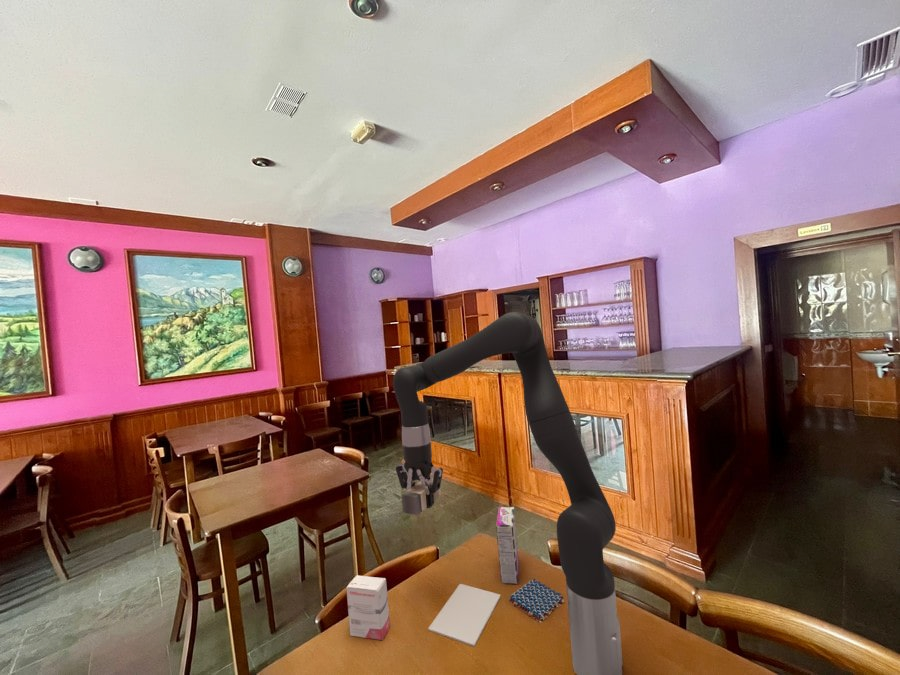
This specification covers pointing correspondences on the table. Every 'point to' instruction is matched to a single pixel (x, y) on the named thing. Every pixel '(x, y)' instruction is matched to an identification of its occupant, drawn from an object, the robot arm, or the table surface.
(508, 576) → the candy bar box
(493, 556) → the table surface
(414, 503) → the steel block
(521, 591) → the woven mat
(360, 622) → the ink box
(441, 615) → the white rectangular board
